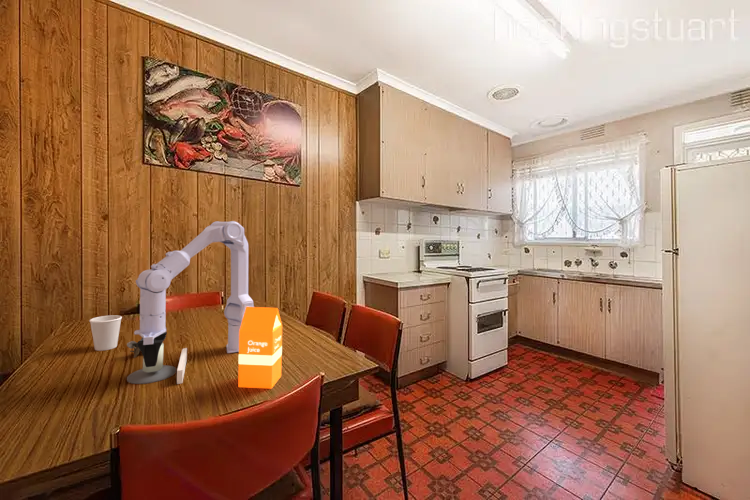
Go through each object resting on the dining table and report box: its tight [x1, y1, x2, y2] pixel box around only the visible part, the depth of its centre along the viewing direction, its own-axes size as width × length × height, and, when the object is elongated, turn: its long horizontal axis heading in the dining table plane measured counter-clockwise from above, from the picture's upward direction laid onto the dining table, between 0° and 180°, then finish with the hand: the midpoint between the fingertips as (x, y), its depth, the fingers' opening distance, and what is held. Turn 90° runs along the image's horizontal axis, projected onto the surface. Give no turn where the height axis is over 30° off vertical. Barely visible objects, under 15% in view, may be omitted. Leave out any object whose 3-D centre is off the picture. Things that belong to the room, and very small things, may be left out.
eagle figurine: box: [126, 335, 167, 359], centre depth 101 cm, size 8×7×9 cm
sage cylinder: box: [142, 342, 165, 372], centre depth 85 cm, size 4×4×6 cm
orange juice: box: [237, 306, 283, 390], centre depth 83 cm, size 8×9×20 cm
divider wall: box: [176, 347, 188, 385], centre depth 89 cm, size 1×18×4 cm, turn 28°
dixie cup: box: [89, 314, 123, 352], centre depth 105 cm, size 8×8×10 cm
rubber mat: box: [126, 364, 177, 385], centre depth 85 cm, size 11×11×1 cm
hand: (152, 362), depth 85 cm, fingers closed on sage cylinder, 4 cm apart
